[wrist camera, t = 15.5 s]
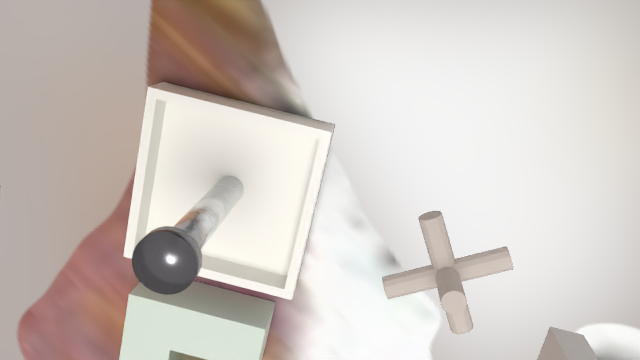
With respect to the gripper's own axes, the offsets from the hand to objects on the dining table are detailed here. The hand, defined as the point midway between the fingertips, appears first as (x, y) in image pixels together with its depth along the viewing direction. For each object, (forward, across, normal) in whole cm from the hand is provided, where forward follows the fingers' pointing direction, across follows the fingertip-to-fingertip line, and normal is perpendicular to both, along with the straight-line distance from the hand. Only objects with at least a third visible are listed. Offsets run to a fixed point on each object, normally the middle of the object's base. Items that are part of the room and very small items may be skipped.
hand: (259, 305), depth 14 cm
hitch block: (+37, -8, -26) cm, 46 cm away
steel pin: (+36, -8, -10) cm, 38 cm away
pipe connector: (+37, +11, -11) cm, 40 cm away
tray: (+37, -8, -10) cm, 39 cm away
